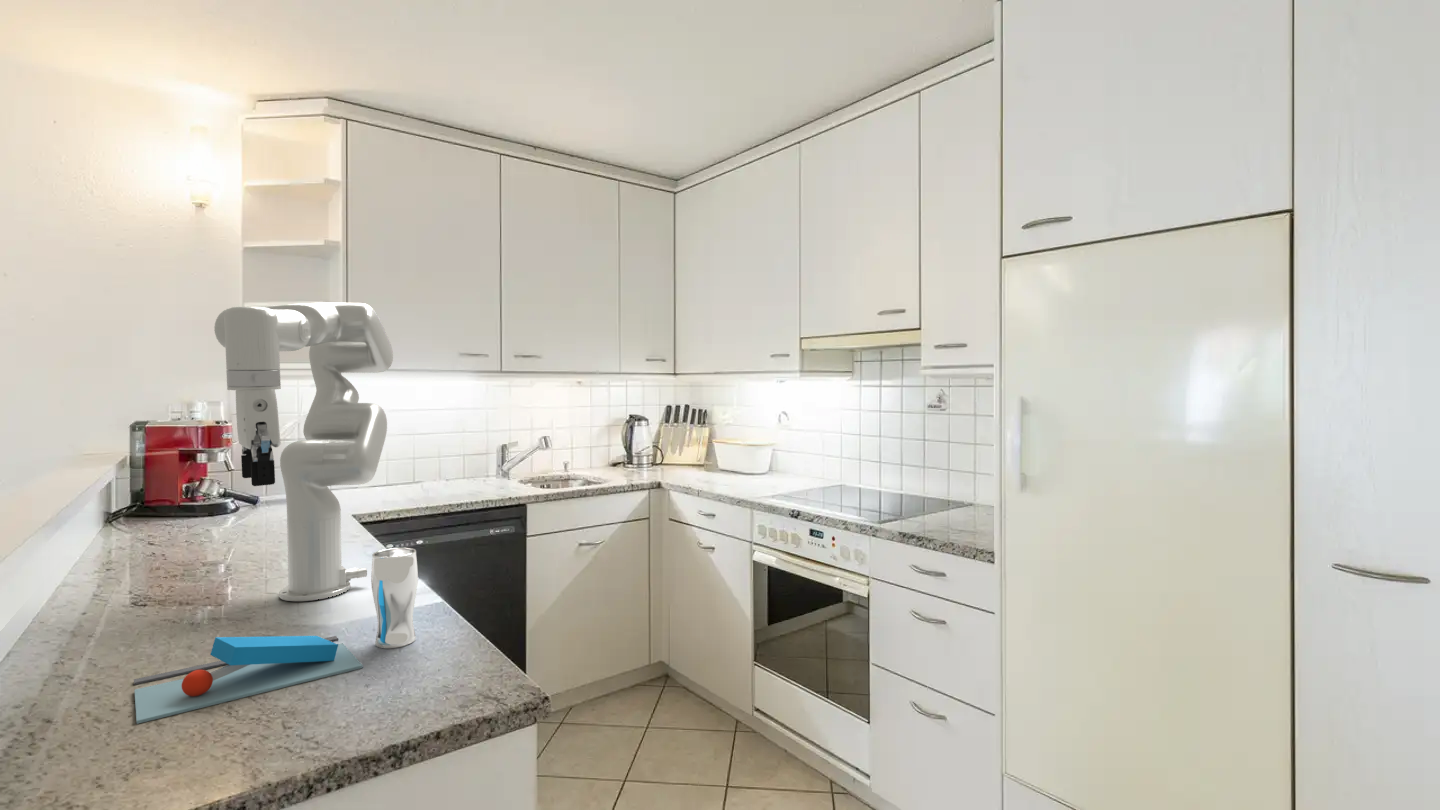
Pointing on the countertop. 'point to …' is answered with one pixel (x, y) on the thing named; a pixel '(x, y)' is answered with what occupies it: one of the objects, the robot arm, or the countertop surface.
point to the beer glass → (394, 595)
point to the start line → (191, 669)
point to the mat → (237, 685)
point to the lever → (258, 656)
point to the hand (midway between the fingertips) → (258, 480)
